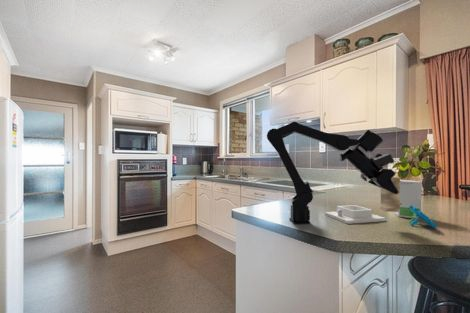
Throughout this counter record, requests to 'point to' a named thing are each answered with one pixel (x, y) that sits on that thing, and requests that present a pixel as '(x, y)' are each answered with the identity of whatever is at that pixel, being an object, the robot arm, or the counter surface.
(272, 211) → the counter surface
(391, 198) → the block
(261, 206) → the counter surface
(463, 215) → the counter surface
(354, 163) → the robot arm
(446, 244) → the counter surface
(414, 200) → the skincare box
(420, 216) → the blue cog crank toy
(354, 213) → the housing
